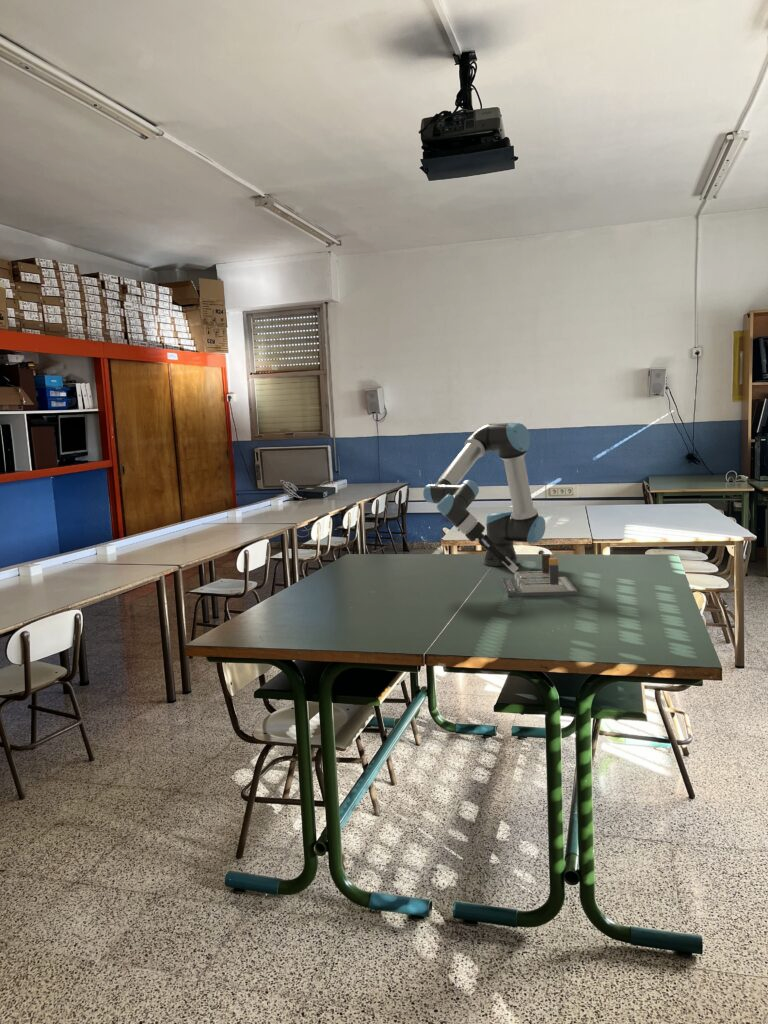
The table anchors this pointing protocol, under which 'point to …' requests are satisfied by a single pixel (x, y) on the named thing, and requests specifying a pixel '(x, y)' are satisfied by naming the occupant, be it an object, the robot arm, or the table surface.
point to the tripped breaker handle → (553, 561)
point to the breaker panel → (539, 582)
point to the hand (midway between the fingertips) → (515, 570)
